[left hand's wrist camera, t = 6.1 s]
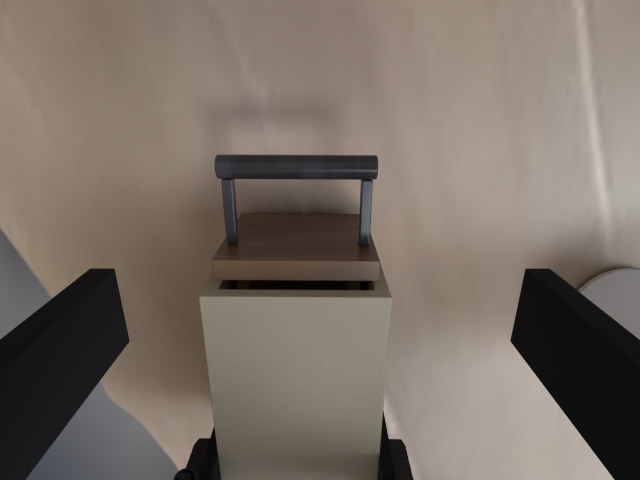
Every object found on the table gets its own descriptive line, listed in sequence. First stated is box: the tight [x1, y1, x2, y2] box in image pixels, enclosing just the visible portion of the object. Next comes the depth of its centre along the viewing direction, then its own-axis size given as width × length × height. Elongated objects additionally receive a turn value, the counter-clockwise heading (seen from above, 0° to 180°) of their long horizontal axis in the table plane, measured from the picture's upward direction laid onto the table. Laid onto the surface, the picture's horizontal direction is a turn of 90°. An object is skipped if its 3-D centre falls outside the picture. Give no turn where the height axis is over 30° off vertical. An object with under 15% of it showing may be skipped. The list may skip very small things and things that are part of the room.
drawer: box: [212, 155, 380, 290], centre depth 27 cm, size 21×9×8 cm, turn 0°
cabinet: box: [199, 264, 392, 480], centre depth 28 cm, size 17×10×10 cm, turn 0°
